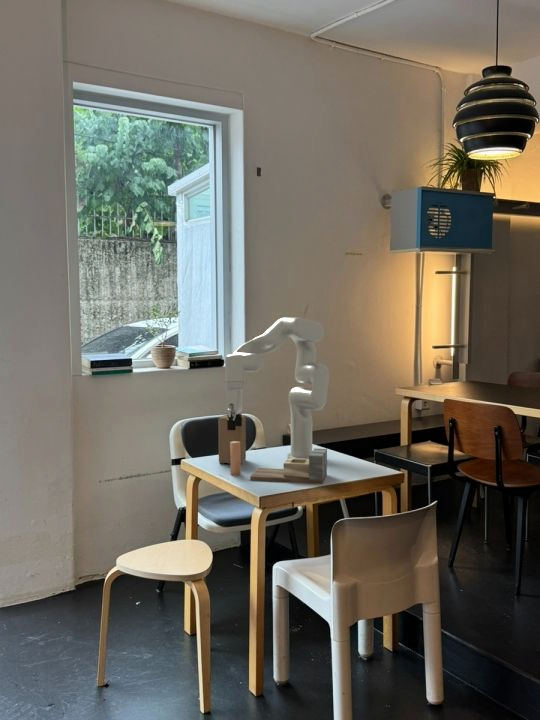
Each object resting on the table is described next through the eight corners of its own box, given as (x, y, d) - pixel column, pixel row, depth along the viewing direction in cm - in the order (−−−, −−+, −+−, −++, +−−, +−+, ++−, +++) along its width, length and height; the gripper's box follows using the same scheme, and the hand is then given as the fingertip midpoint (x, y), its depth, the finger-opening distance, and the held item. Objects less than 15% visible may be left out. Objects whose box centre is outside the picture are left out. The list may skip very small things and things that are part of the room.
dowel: (232, 472, 280) (231, 441, 279) (241, 473, 279) (241, 441, 278) (229, 475, 276) (229, 443, 275) (239, 475, 275) (239, 443, 274)
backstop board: (258, 471, 281) (258, 446, 281) (326, 474, 276) (326, 448, 275) (250, 480, 268) (250, 453, 267) (322, 483, 262) (322, 456, 261)
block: (240, 465, 293) (240, 418, 292) (218, 464, 295) (217, 417, 294) (246, 459, 303) (246, 414, 301) (224, 458, 305) (223, 414, 303)
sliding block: (288, 470, 277) (288, 457, 276) (313, 471, 275) (313, 458, 274) (283, 476, 267) (283, 463, 267) (309, 477, 265) (309, 464, 264)
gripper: (231, 383, 283) (231, 424, 285) (219, 387, 267) (219, 431, 268) (249, 383, 282) (249, 425, 283) (238, 388, 265) (238, 432, 266)
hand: (234, 428), depth 275 cm, fingers open, 9 cm apart
